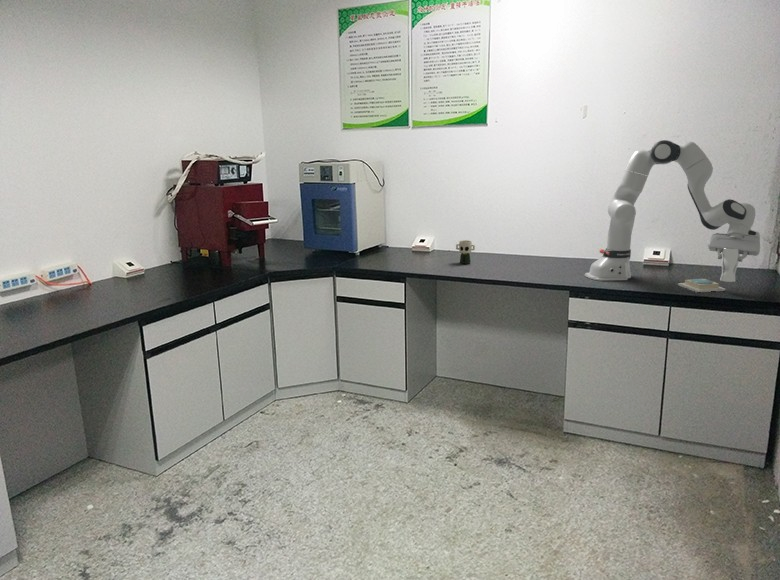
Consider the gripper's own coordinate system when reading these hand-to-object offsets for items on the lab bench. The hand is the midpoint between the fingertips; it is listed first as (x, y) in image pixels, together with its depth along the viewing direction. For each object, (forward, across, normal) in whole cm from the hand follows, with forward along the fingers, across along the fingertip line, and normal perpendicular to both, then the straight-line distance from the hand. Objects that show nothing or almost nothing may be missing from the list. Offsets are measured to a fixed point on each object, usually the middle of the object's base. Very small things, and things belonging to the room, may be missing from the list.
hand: (729, 259), depth 256 cm
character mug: (+25, -130, -2) cm, 132 cm away
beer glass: (+7, 0, +7) cm, 10 cm away
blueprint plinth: (+10, -10, +11) cm, 18 cm away
